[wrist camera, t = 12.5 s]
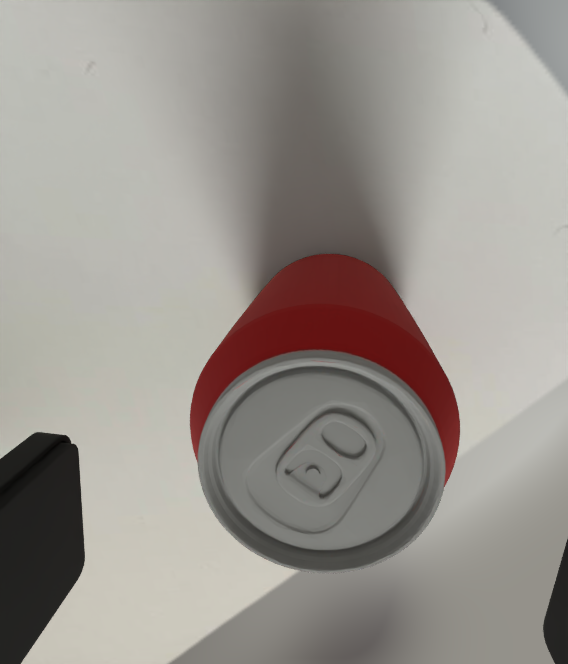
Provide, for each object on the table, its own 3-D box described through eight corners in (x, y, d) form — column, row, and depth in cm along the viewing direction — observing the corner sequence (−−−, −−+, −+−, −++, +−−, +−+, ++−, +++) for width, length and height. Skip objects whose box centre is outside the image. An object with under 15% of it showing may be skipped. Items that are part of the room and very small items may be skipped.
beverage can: (228, 336, 22) (112, 489, 11) (313, 219, 20) (281, 252, 9) (341, 417, 23) (345, 645, 11) (435, 310, 21) (555, 454, 9)
